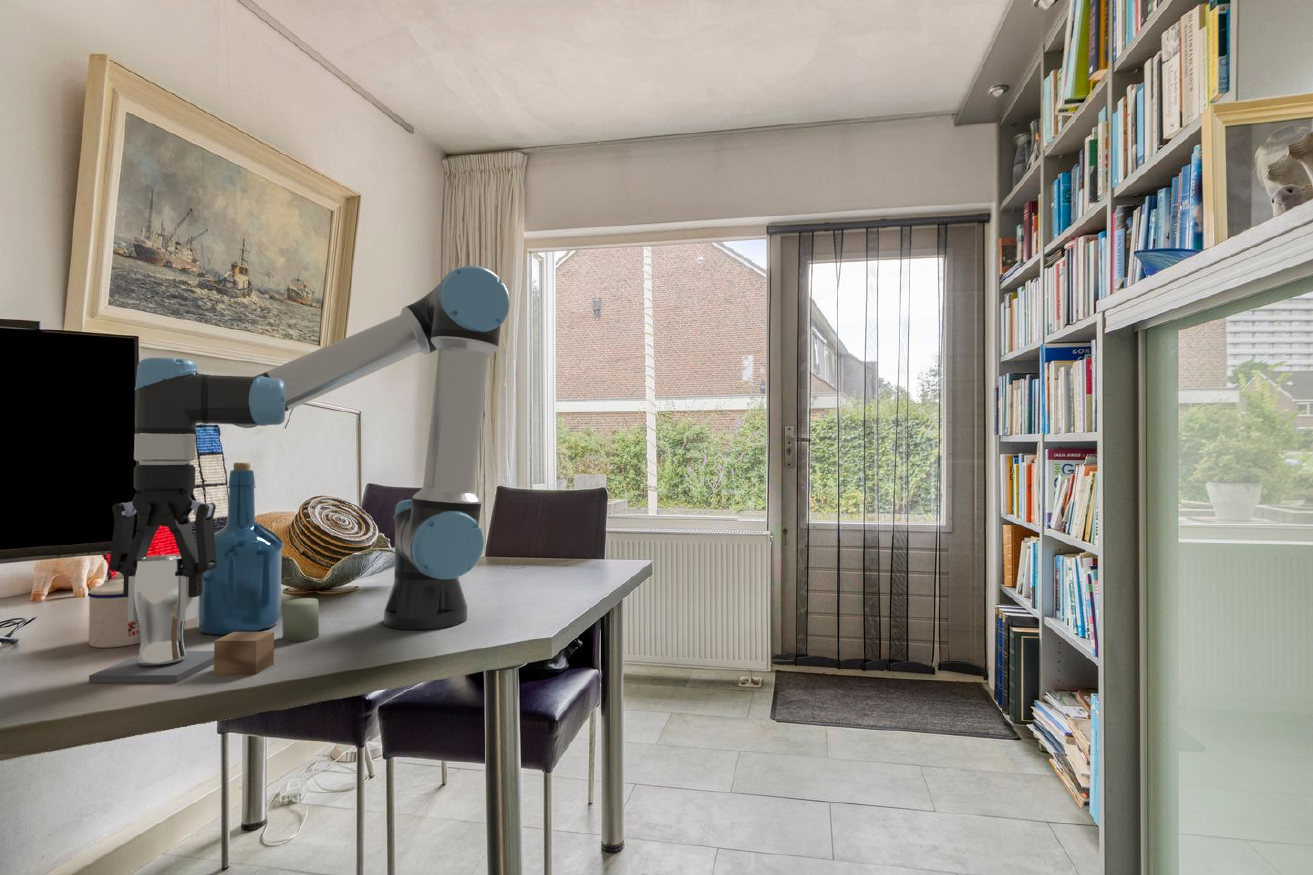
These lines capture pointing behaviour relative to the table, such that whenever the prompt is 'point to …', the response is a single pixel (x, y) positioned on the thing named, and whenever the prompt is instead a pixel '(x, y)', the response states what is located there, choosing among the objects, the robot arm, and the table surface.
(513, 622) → the table surface
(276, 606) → the wine bottle
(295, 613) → the pale green rounded cube
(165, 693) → the table surface
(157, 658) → the beer glass
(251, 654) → the walnut block
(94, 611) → the teacup with lid
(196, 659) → the charcoal mat
